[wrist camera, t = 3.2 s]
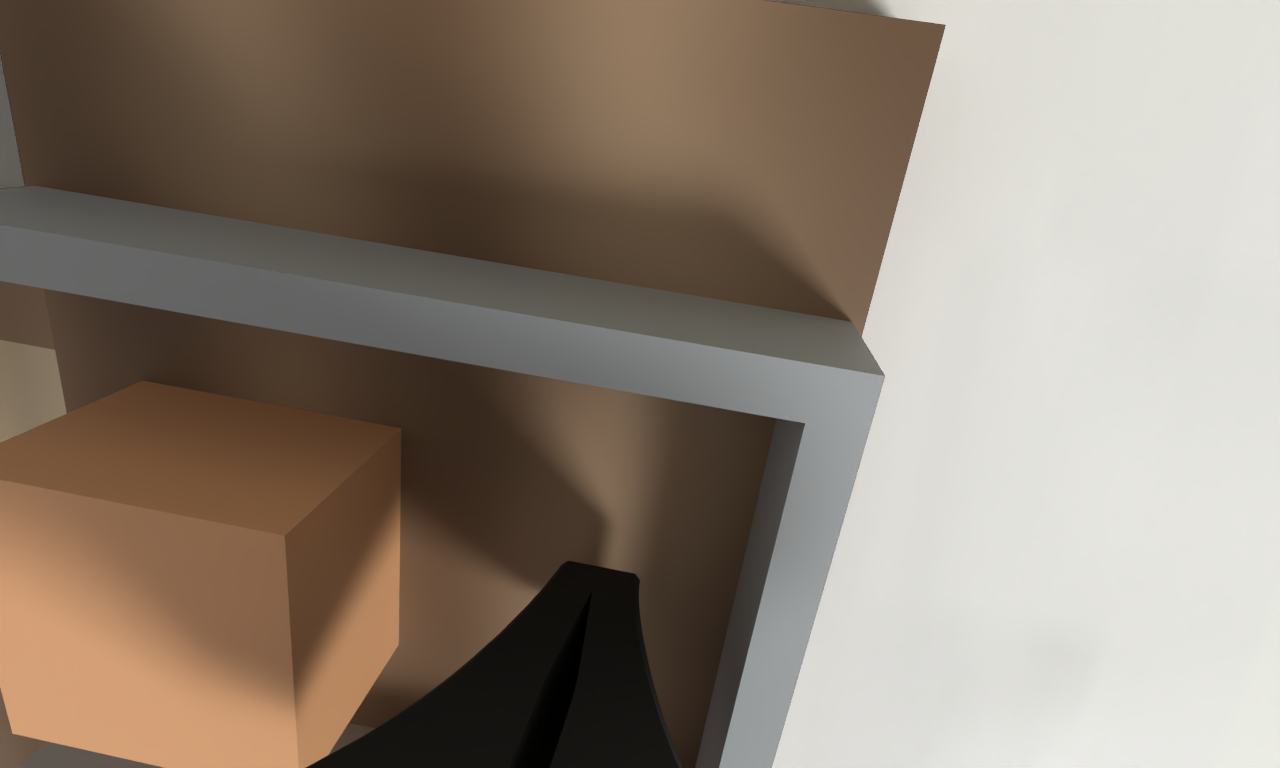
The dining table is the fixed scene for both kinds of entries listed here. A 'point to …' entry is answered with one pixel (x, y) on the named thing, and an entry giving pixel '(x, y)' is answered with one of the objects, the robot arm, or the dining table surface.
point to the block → (197, 577)
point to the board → (481, 257)
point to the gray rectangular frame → (525, 343)
